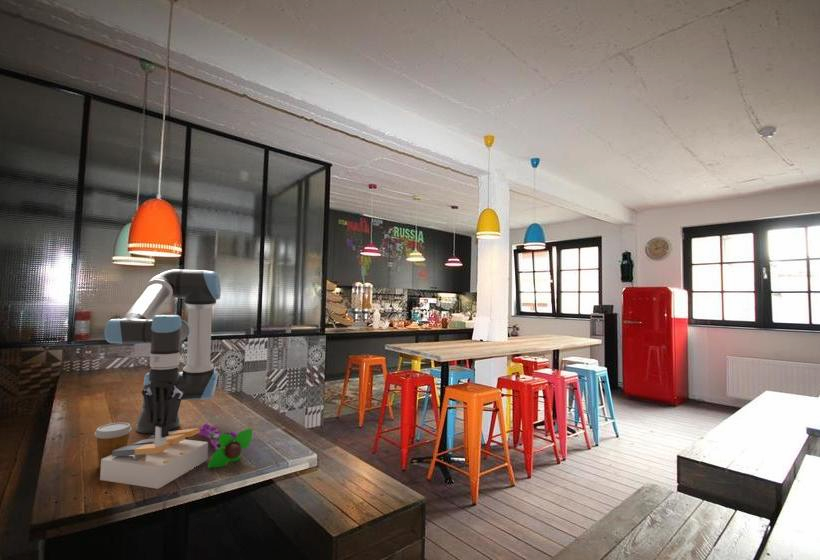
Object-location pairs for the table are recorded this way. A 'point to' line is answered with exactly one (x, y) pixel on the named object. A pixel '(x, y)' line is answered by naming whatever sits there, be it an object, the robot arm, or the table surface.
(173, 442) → the rocker mid
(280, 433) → the table surface
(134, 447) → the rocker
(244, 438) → the potted plant
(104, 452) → the disposable coffee cup
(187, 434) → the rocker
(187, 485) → the table surface
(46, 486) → the table surface
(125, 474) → the switch box
